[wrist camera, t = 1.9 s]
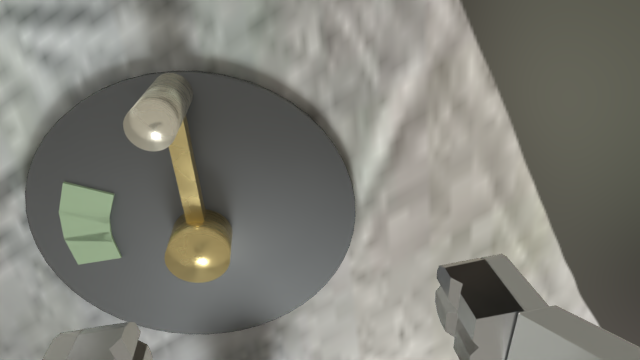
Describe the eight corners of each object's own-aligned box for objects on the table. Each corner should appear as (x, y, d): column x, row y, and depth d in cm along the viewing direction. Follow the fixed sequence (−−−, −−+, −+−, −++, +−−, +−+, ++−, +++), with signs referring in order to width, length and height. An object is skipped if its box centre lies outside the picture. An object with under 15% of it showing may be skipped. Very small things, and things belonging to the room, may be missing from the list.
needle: (235, 252, 31) (231, 311, 25) (179, 258, 30) (163, 319, 25) (206, 70, 23) (192, 102, 18) (130, 74, 23) (94, 108, 18)
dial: (349, 310, 38) (351, 318, 37) (92, 342, 35) (88, 352, 34) (358, 61, 26) (361, 65, 25) (-35, 81, 23) (-46, 86, 22)
